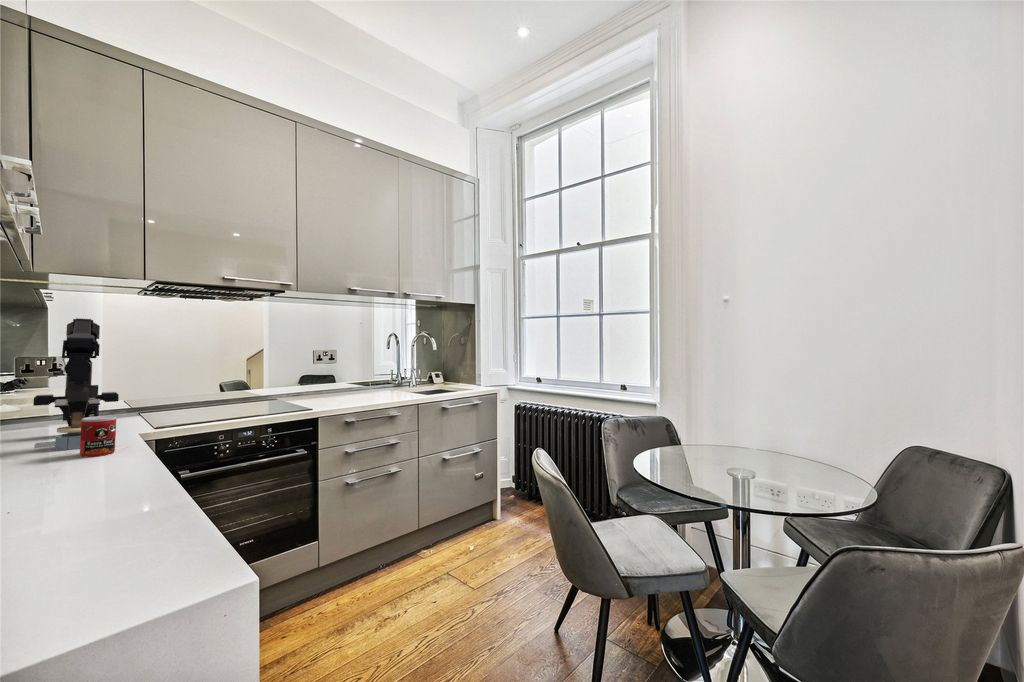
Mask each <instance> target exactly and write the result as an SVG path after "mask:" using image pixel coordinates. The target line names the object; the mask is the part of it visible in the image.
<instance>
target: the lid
mask: <svg viewBox="0 0 1024 682" xmlns="http://www.w3.org/2000/svg"><path fill="white" fill-rule="evenodd" d="M70 417H71V426H70V427H69V426H68V425H67V426H61V427H57V428H56V433H58V434H66V433H74V432H81V421H82V419H83V417H84V412H76V413H71V416H70Z"/></svg>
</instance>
